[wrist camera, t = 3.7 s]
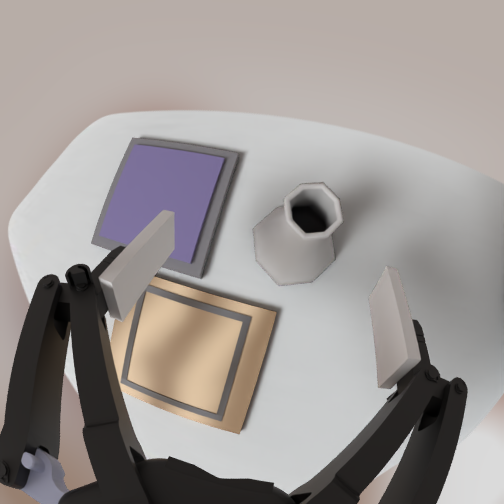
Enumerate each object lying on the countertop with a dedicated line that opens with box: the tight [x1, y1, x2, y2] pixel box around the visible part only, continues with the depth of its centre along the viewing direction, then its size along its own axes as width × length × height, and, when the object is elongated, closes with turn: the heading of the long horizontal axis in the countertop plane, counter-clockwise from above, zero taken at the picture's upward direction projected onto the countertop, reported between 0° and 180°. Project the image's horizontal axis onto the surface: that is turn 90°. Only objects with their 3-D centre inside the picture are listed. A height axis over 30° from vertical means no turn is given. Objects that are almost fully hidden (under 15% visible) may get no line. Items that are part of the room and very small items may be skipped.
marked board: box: [110, 276, 277, 434], centre depth 22 cm, size 14×12×1 cm
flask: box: [253, 182, 344, 286], centre depth 19 cm, size 7×7×10 cm
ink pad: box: [91, 138, 239, 279], centre depth 24 cm, size 12×12×1 cm
